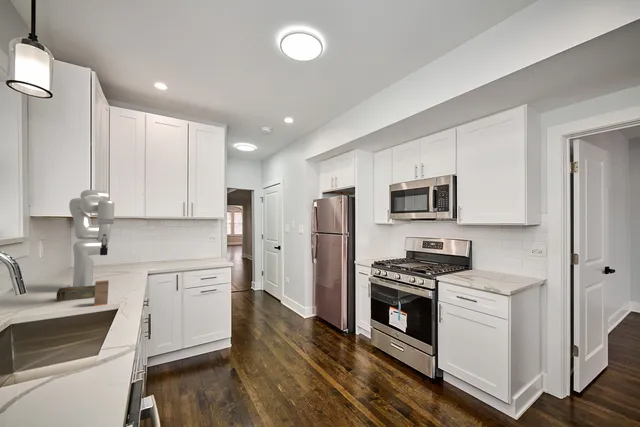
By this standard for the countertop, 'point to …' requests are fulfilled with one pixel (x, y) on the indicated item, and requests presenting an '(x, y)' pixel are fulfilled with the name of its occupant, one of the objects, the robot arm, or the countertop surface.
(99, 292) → the wooden block
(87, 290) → the beverage carton
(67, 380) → the countertop surface
